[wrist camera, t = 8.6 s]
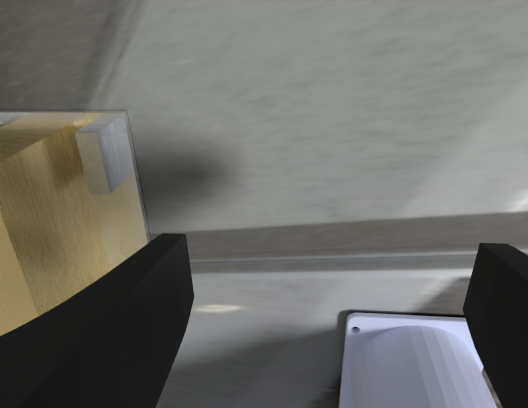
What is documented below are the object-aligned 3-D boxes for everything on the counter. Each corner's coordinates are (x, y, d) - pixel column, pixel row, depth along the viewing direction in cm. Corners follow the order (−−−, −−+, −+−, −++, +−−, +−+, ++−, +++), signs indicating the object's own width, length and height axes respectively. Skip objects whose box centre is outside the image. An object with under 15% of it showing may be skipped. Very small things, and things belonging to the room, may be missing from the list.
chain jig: (166, 331, 26) (156, 355, 24) (54, 325, 26) (36, 347, 25) (126, 110, 19) (109, 121, 18) (-22, 110, 20) (-52, 121, 18)
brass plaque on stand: (123, 326, 25) (75, 416, 20) (77, 324, 26) (17, 411, 20) (73, 121, 19) (-16, 171, 14) (14, 121, 20) (-95, 170, 14)
